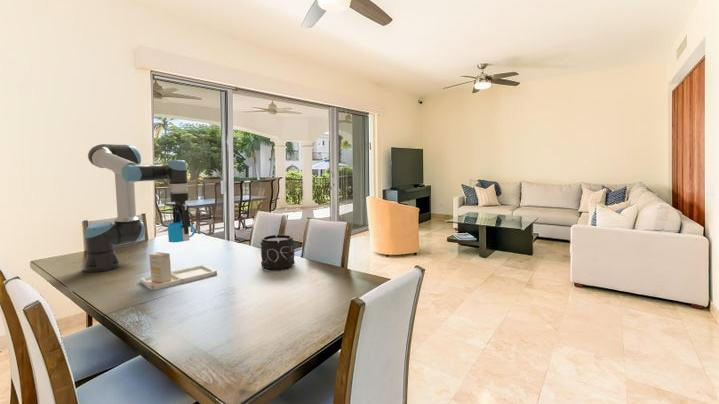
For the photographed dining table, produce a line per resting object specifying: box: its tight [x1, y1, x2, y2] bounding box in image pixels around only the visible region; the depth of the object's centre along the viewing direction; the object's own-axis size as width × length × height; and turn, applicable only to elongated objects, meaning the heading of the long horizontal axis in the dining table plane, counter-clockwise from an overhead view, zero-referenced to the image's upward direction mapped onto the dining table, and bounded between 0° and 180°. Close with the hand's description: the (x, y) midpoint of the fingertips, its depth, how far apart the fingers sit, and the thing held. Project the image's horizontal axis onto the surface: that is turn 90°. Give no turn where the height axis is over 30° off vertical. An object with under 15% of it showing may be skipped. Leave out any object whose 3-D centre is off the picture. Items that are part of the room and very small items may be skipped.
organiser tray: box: [139, 264, 218, 292], centre depth 168 cm, size 16×29×2 cm, turn 137°
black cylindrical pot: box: [260, 234, 296, 272], centre depth 185 cm, size 18×18×16 cm
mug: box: [167, 221, 196, 243], centre depth 169 cm, size 12×8×8 cm
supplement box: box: [148, 251, 172, 283], centre depth 161 cm, size 8×5×13 cm, turn 65°
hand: (182, 239), depth 169 cm, fingers closed on mug, 8 cm apart
